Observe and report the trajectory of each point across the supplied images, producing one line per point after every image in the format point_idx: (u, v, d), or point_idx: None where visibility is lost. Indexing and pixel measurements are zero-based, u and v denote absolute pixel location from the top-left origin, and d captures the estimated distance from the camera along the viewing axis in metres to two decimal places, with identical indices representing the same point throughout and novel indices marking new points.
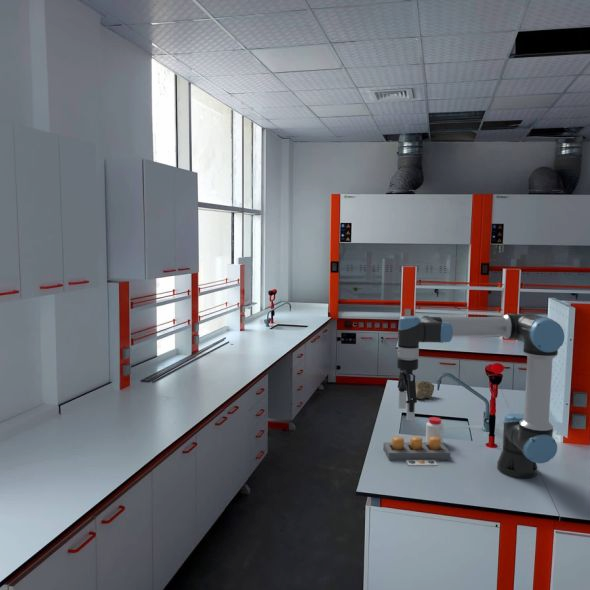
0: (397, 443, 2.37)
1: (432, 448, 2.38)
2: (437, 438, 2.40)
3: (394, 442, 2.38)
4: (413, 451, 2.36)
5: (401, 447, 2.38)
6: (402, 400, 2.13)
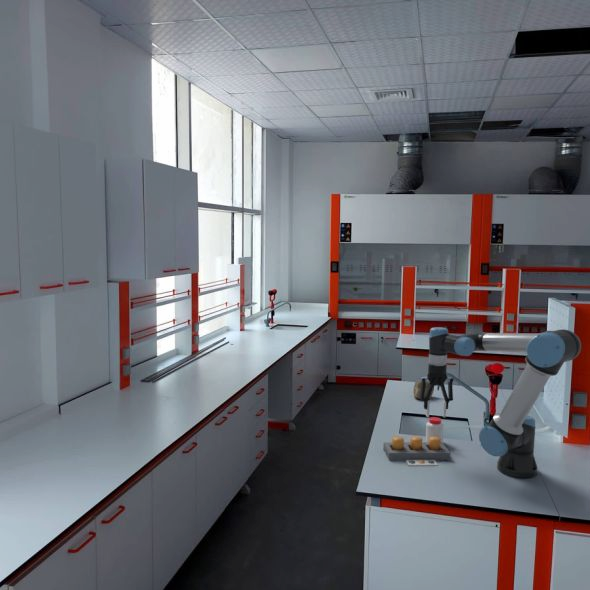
0: (397, 443, 2.37)
1: (432, 448, 2.38)
2: (437, 438, 2.40)
3: (394, 442, 2.38)
4: (413, 451, 2.36)
5: (401, 447, 2.38)
6: (443, 409, 2.39)
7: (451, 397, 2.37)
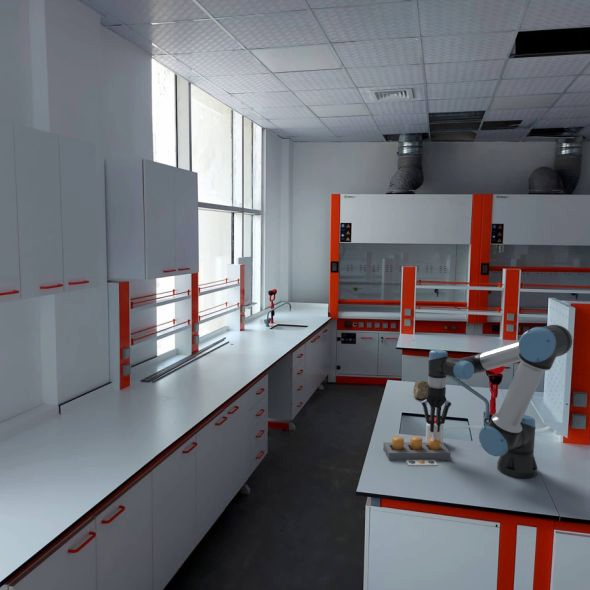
0: (397, 443, 2.37)
1: (432, 449, 2.38)
2: (437, 439, 2.40)
3: (394, 442, 2.38)
4: (413, 451, 2.36)
5: (401, 447, 2.38)
6: None
7: (443, 420, 2.38)
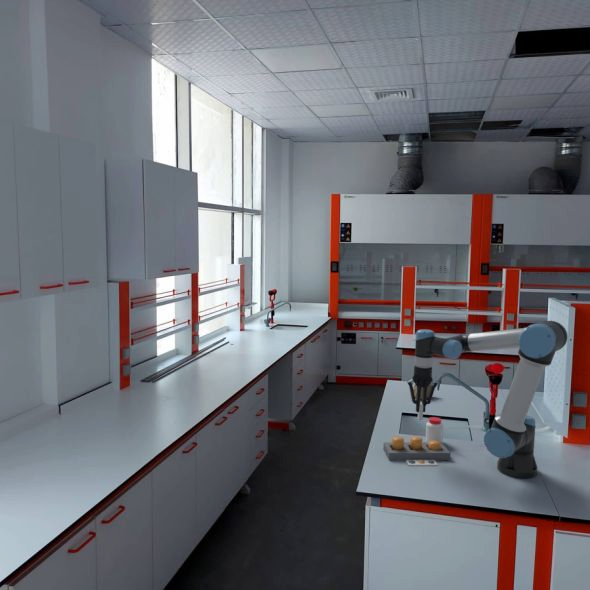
0: (397, 443, 2.37)
1: None
2: (437, 442, 2.40)
3: (394, 442, 2.38)
4: (413, 451, 2.36)
5: (401, 447, 2.38)
6: None
7: (429, 400, 2.38)
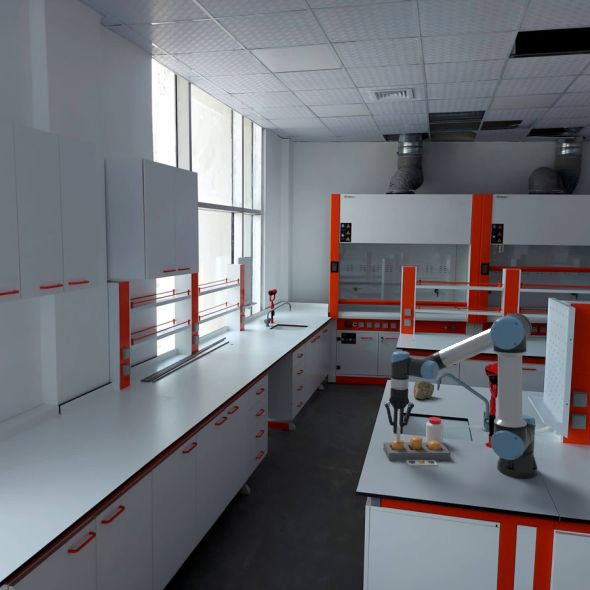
0: (397, 446, 2.37)
1: None
2: (437, 442, 2.40)
3: (394, 445, 2.38)
4: (413, 451, 2.36)
5: None
6: None
7: (406, 422, 2.38)
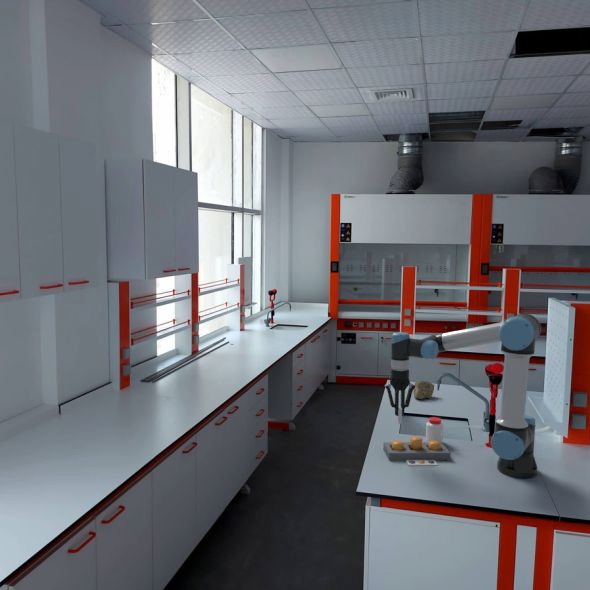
0: (397, 448, 2.37)
1: None
2: (437, 442, 2.40)
3: (394, 446, 2.38)
4: (413, 451, 2.36)
5: None
6: None
7: (407, 403, 2.37)
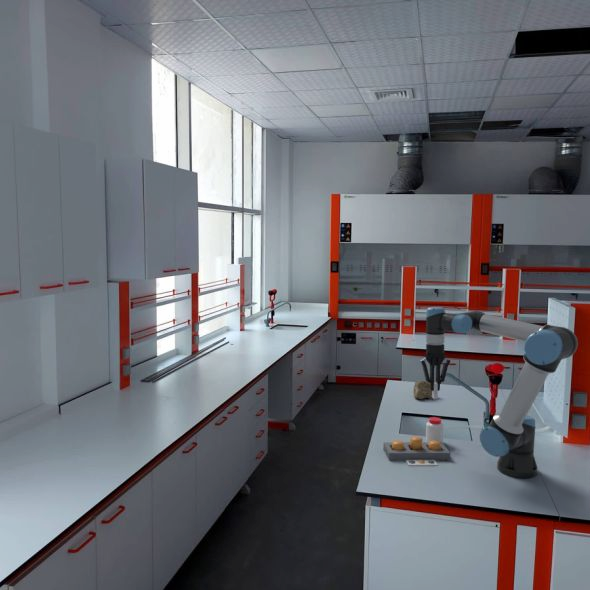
0: (397, 448, 2.37)
1: None
2: (437, 442, 2.40)
3: (394, 446, 2.38)
4: (413, 451, 2.36)
5: None
6: None
7: (443, 378, 2.36)
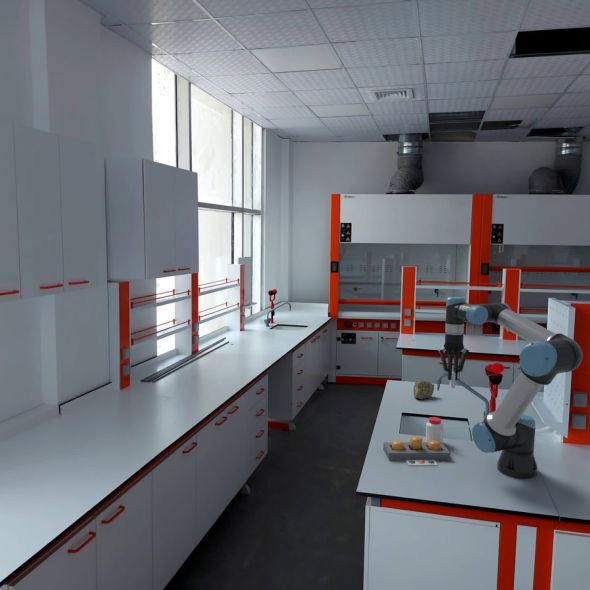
0: (397, 448, 2.37)
1: None
2: (437, 442, 2.40)
3: (394, 446, 2.38)
4: (413, 451, 2.36)
5: None
6: None
7: (461, 368, 2.37)
